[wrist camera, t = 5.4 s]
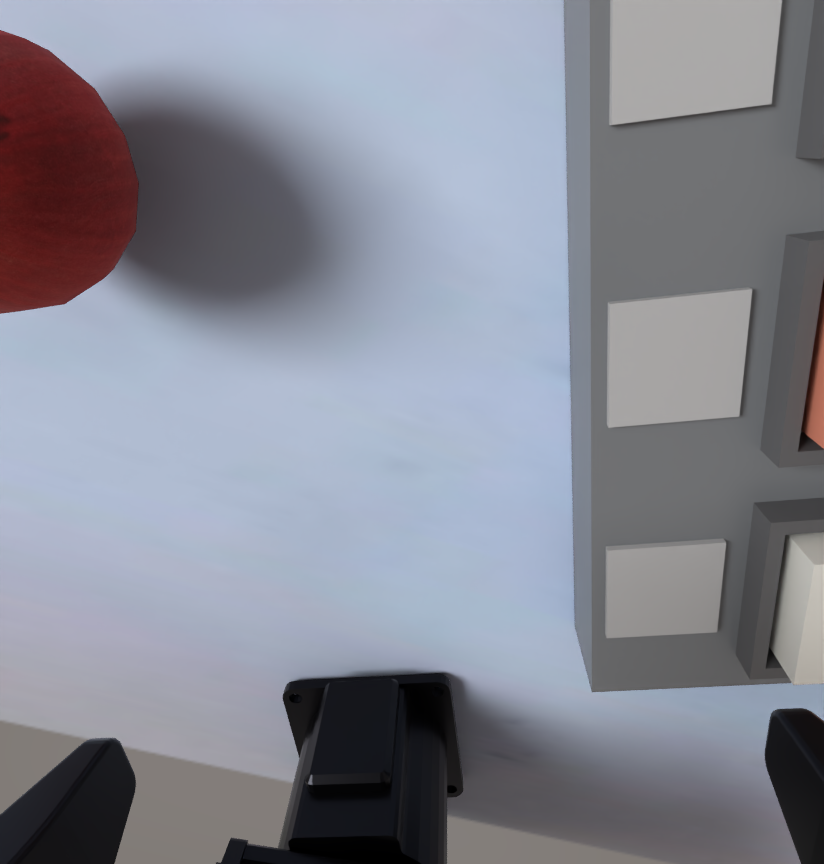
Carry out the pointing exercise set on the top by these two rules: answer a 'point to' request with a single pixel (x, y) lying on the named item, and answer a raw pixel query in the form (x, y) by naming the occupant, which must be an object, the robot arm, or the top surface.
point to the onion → (57, 181)
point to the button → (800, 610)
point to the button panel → (691, 328)
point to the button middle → (816, 385)
